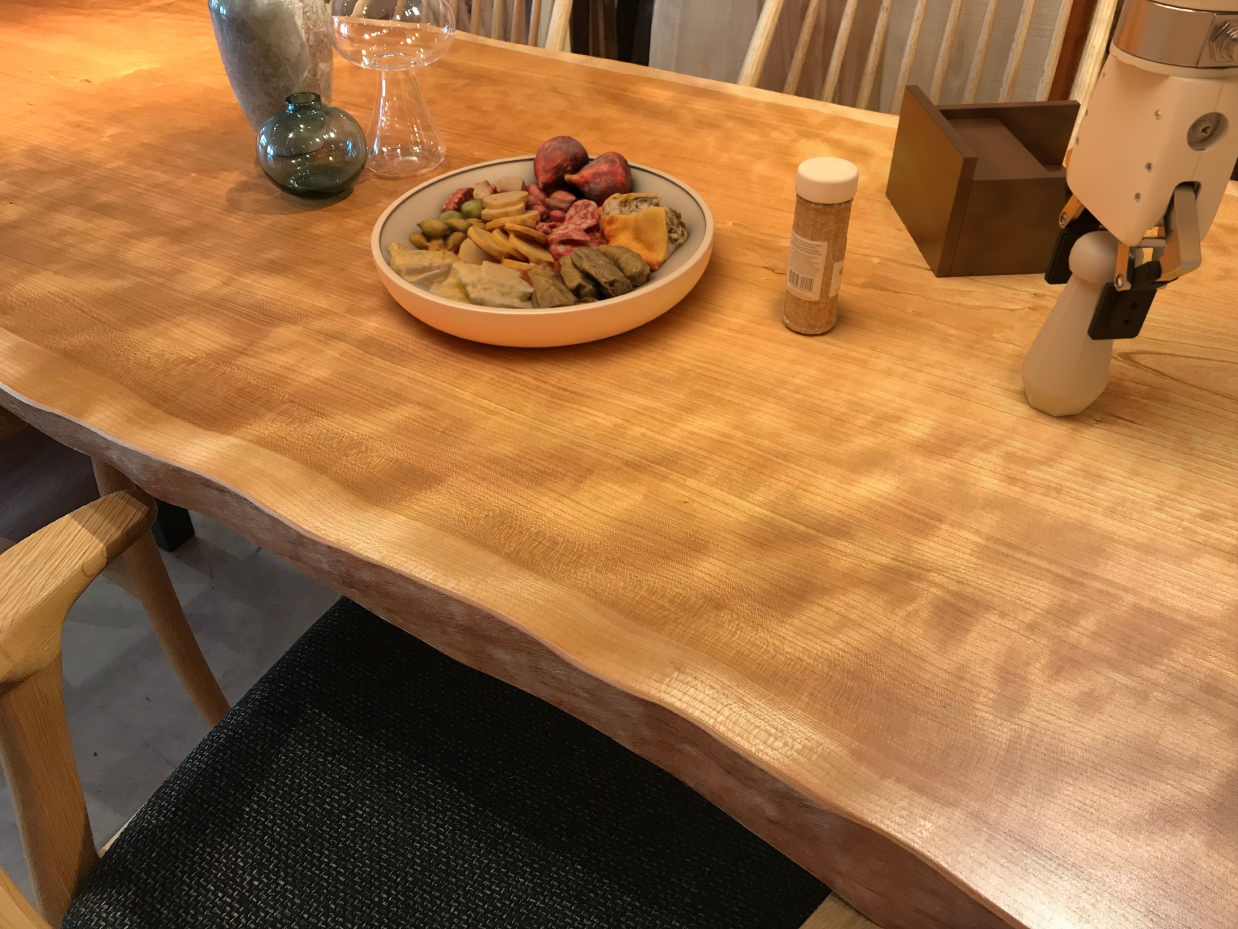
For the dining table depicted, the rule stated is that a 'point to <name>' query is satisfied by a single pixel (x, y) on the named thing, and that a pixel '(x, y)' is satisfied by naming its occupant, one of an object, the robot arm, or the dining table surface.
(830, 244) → the sprinkles bottle
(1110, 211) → the robot arm
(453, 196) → the bowl
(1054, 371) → the salt shaker
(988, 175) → the box
